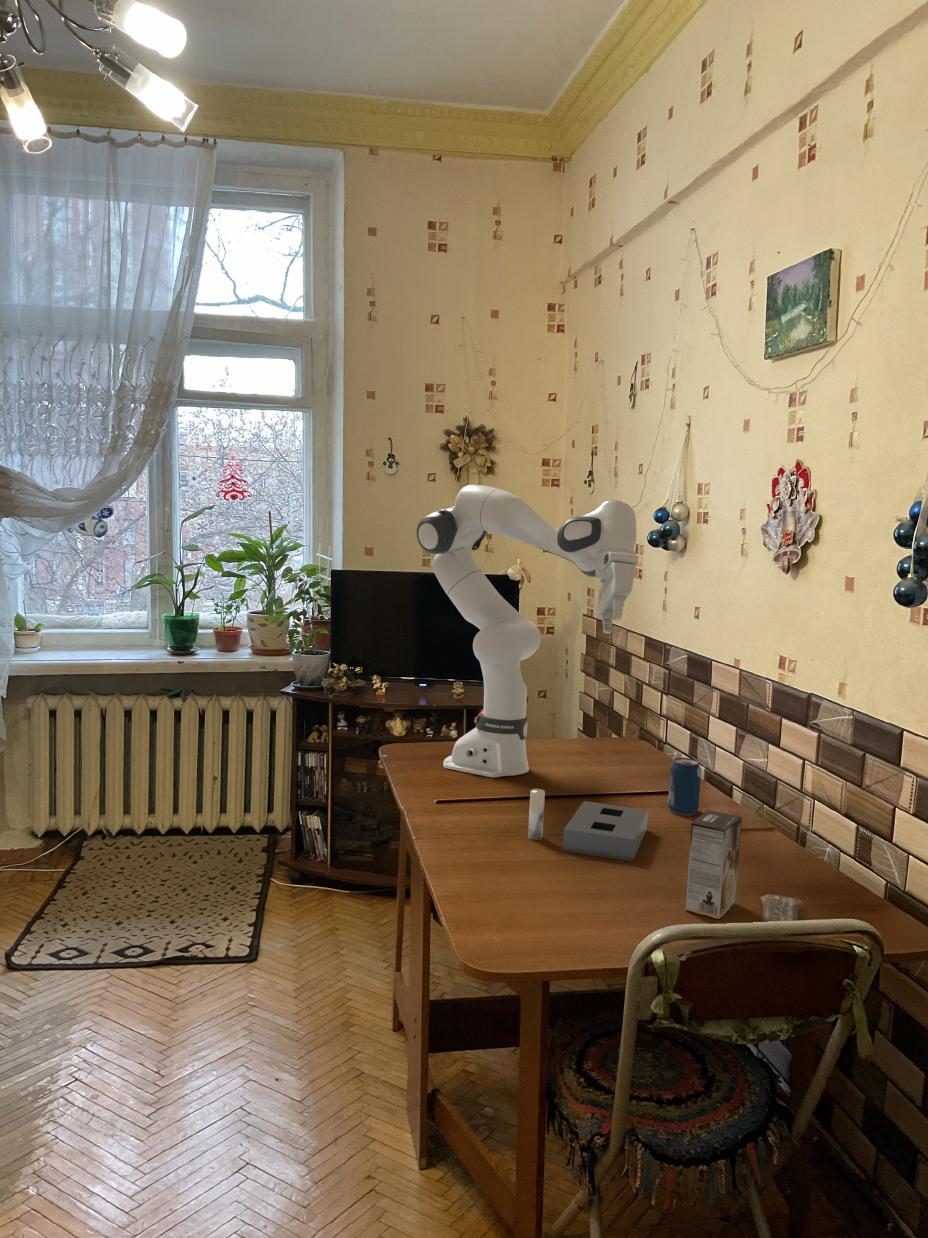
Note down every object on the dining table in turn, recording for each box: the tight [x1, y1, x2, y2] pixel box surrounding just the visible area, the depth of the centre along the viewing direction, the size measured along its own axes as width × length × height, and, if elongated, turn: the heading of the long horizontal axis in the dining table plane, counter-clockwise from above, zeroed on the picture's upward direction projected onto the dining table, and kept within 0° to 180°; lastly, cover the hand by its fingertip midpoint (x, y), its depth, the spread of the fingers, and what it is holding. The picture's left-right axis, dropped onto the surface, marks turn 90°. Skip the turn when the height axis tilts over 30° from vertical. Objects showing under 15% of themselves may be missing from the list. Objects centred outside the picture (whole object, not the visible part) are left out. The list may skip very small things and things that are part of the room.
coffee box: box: [685, 809, 743, 916], centre depth 165 cm, size 9×6×16 cm
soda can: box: [667, 757, 702, 816], centre depth 218 cm, size 7×7×12 cm
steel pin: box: [527, 788, 546, 841], centre depth 196 cm, size 3×3×10 cm
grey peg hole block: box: [562, 800, 649, 862], centre depth 197 cm, size 14×20×4 cm
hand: (612, 626), depth 209 cm, fingers open, 8 cm apart
